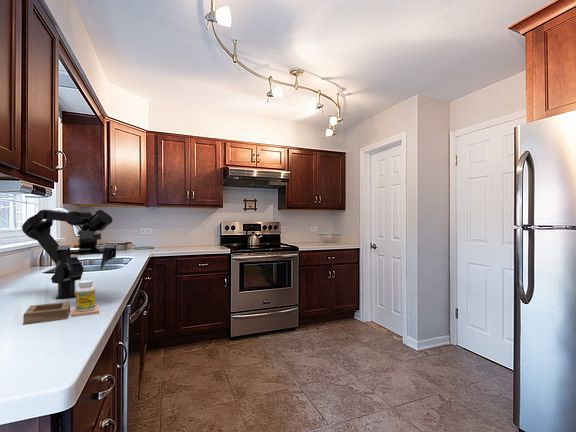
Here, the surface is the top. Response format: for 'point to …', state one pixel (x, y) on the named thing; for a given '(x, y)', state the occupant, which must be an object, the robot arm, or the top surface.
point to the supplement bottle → (85, 296)
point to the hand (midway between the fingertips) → (86, 269)
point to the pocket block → (46, 312)
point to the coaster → (94, 311)
